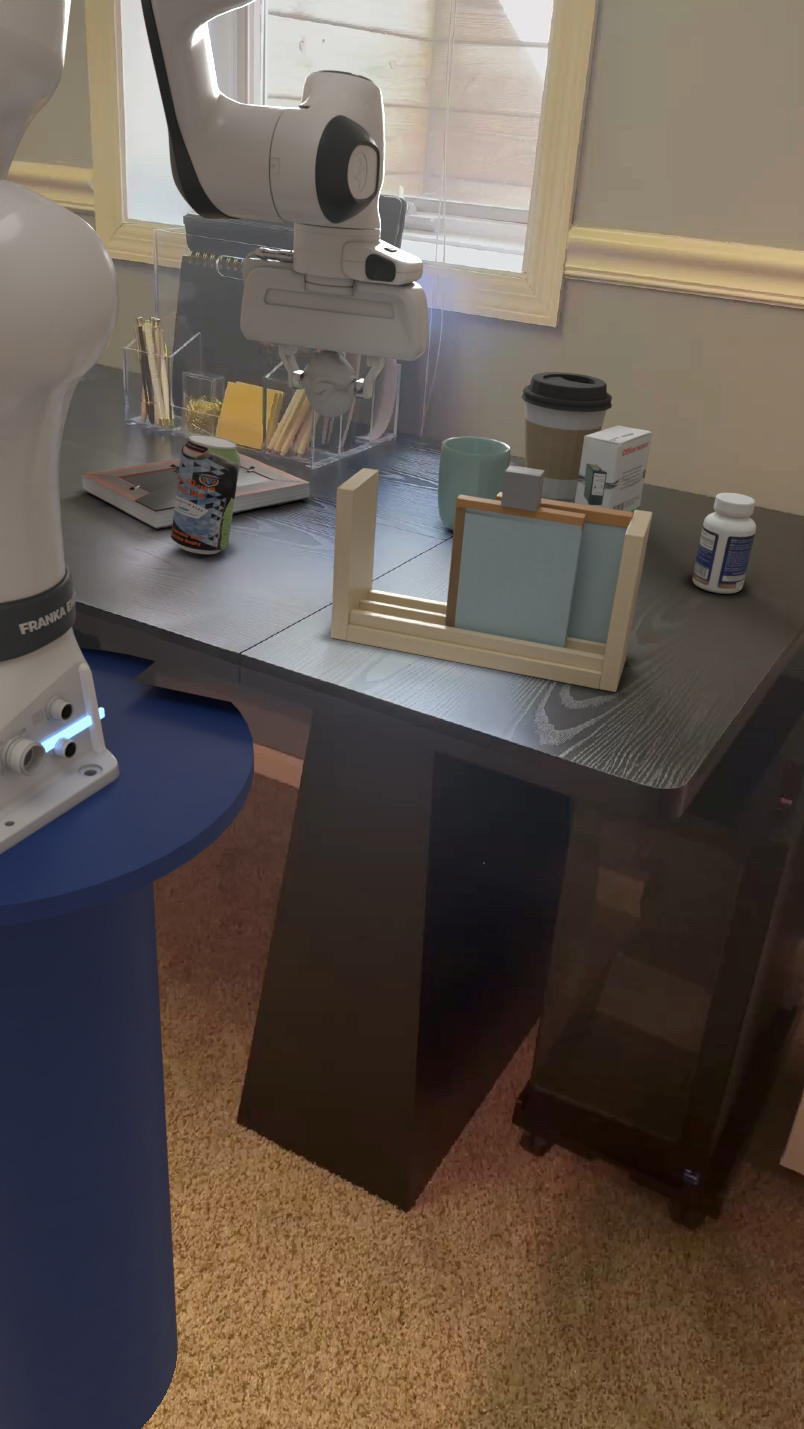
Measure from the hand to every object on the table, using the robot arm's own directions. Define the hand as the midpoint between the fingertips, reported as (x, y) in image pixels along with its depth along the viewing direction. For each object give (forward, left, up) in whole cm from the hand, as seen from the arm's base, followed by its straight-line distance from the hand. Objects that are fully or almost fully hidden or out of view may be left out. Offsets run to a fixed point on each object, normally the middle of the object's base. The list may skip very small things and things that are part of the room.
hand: (330, 393), depth 118 cm
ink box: (+15, -30, -16) cm, 37 cm away
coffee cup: (+25, -22, -16) cm, 37 cm away
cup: (+7, -15, -16) cm, 23 cm away
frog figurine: (0, 0, -3) cm, 3 cm away
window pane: (-26, -27, -14) cm, 40 cm away
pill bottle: (+2, -44, -16) cm, 47 cm away
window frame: (-25, -24, -15) cm, 38 cm away
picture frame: (+3, +18, -16) cm, 24 cm away
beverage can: (-13, +9, -16) cm, 22 cm away
